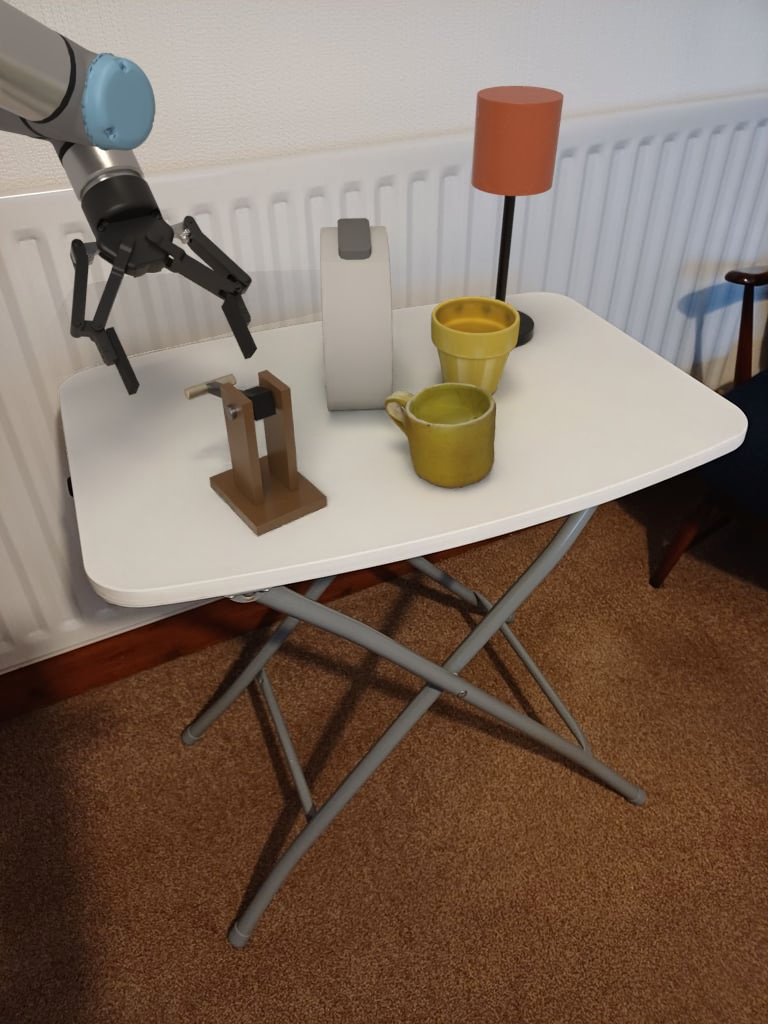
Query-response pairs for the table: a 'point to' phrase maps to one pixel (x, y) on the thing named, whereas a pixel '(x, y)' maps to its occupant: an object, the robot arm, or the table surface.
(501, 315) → the flower pot
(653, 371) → the table surface
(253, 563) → the table surface
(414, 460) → the mug
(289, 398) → the wooden lever stand
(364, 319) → the alarm clock
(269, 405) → the switch lever
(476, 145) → the lamp
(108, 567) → the table surface
